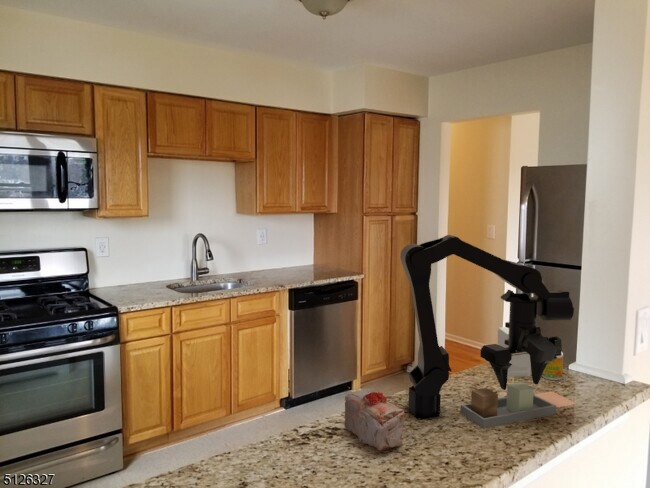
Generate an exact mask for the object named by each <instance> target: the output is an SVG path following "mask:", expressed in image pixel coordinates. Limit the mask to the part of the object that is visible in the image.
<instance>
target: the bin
mask: <svg viewBox="0 0 650 488" xmlns="http://www.w3.org/2000/svg"><path fill="white" fill-rule="evenodd" d="M506 408H507V396H504V397H498V407H497V416H493V417H488V418H483V417H482V416H480V415H478V414H477V413H475V412H474V411H472V410H471V402H469V403H464V404H463V403H462V404H460V414H461V415H462V416H464V417H465V418H467V419H469V420H470V421H472V422H474V424H475V425H477V426H479V427H481V428H482V429H488V428H492V427H498V426H502V425H509V424H513V423H518V422H523V421H527V420H533V419H538V418H543V417H548V416H553V415H556V414H557V408H556V405H554V404H552V403H550V402H548V401H546V400H544V399H542V398H540V397H538V396H536V395H534V393H533V409H530V410H525V411H520V412H514V413H512V412H511V411H509V410H507V409H506Z"/></svg>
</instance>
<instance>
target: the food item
mask: <svg viewBox="0 0 650 488" xmlns="http://www.w3.org/2000/svg"><path fill="white" fill-rule="evenodd" d="M344 401H345V402H344V429H345V430H348V431H350V432H351V433H352V434H353V435H356V436H357V438H358V442H360V443H363V444H367V445H368V446H370V447H374V448H376V449H377V450H378V451H379V452H380V451H385V450H390V449H395V448H397V447H400V446H402V445H403V433H404V428H405V424H404V423H405V422H404V421H405V409H403V408H400V407H398V406H396V405H394V404H392V403H391V402H388V398H387V396H385V395H384V394H383V392H379V391H378V392H375V391H371V392H370V390H369V391H368V390H367V389H365V390H363V389H360V390H355V391H353V392H350V393H348V394H346V395H345V397H344Z"/></svg>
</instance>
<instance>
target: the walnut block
mask: <svg viewBox="0 0 650 488" xmlns="http://www.w3.org/2000/svg"><path fill="white" fill-rule="evenodd" d="M470 395H471V399H470V400H471V402H470V403H471V410H472V411H474V412H475V413H477V414H478V415H480V416H482V417H483V418H488V417H493V416H497V407H498V398H499V394H498V393H497V392H495V391H493V390H490V388H488V387H484V388H483V387H482V388H477V389H471V394H470Z"/></svg>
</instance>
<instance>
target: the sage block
mask: <svg viewBox="0 0 650 488" xmlns="http://www.w3.org/2000/svg"><path fill="white" fill-rule="evenodd" d="M534 391H535V390H534V387H532V386H531V385H528V384H526V383H523V382H522V381H520V382H513V383H507V386H506V397H507V408H506V409H507V410H509V411H511V412H512V413H514V412H520V411H525V410H530V409H533V394H534Z"/></svg>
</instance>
